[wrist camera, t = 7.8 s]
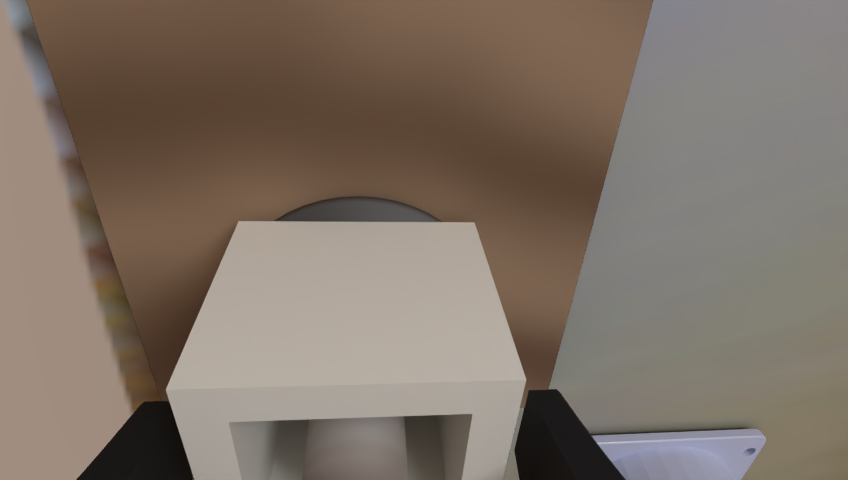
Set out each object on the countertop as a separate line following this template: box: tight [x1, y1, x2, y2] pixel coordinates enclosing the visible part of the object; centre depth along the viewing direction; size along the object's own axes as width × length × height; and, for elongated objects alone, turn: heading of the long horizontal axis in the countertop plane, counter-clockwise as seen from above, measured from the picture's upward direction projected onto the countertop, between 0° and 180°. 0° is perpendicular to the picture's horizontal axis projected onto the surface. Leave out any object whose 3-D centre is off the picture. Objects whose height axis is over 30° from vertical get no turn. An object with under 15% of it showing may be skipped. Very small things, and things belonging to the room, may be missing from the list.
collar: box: [166, 221, 526, 480], centre depth 12 cm, size 6×6×5 cm
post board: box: [26, 0, 653, 480], centre depth 10 cm, size 18×12×6 cm, turn 177°
